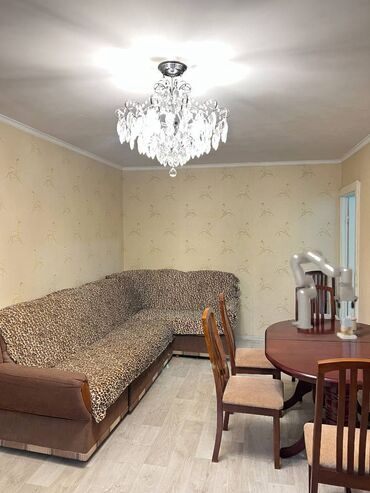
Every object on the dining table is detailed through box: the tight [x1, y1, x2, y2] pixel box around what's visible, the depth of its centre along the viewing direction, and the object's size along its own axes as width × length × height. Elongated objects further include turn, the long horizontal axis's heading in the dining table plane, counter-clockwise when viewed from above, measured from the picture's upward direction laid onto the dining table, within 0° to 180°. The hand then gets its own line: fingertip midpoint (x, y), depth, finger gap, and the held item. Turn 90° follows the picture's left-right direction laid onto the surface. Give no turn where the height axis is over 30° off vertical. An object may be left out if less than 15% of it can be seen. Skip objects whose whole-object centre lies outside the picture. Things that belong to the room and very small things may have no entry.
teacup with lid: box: [339, 314, 357, 331], centre depth 288 cm, size 12×9×12 cm
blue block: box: [341, 316, 352, 327], centre depth 265 cm, size 5×5×6 cm
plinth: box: [336, 332, 358, 340], centre depth 265 cm, size 10×10×2 cm
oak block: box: [340, 324, 354, 336], centre depth 265 cm, size 6×6×6 cm
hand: (345, 308), depth 265 cm, fingers open, 9 cm apart
